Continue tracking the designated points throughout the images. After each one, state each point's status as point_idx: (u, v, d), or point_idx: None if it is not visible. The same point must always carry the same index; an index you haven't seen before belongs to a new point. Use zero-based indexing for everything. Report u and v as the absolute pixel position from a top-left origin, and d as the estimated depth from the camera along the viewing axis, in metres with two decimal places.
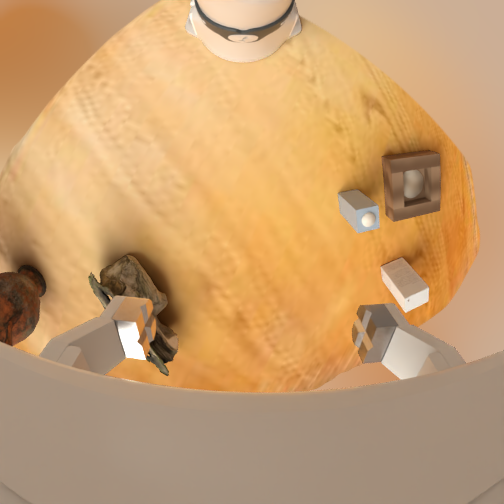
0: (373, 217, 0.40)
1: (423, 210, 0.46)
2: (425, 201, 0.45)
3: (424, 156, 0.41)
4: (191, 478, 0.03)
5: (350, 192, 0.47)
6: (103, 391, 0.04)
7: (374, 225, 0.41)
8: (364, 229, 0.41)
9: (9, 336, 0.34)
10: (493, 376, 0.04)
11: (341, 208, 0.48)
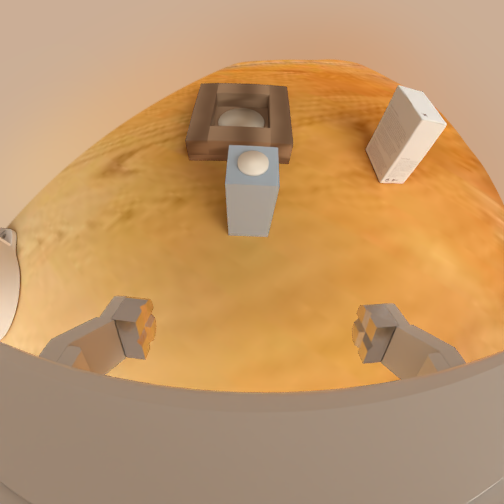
0: (250, 153, 0.21)
1: (282, 104, 0.31)
2: (269, 102, 0.32)
3: (197, 99, 0.31)
4: (190, 478, 0.03)
5: None
6: (103, 391, 0.04)
7: (270, 154, 0.21)
8: (274, 172, 0.20)
9: None
10: (493, 376, 0.04)
11: (254, 231, 0.27)
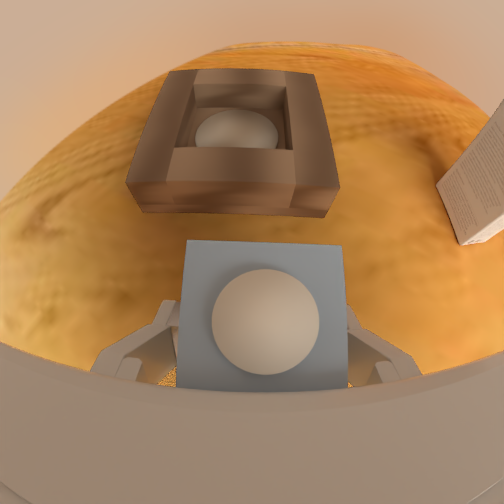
0: (254, 283, 0.06)
1: (310, 104, 0.17)
2: (286, 100, 0.18)
3: (159, 97, 0.17)
4: (191, 477, 0.03)
5: None
6: (103, 391, 0.04)
7: (319, 278, 0.07)
8: (333, 350, 0.06)
9: None
10: (493, 376, 0.04)
11: None
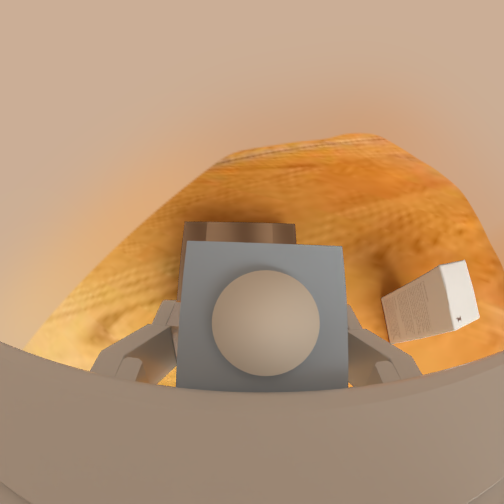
0: (255, 284, 0.06)
1: None
2: None
3: (182, 256, 0.28)
4: (191, 477, 0.03)
5: None
6: (103, 391, 0.04)
7: (320, 279, 0.07)
8: (334, 352, 0.06)
9: None
10: (493, 376, 0.04)
11: None
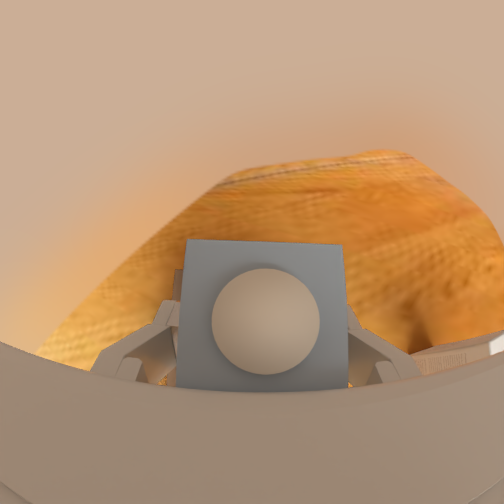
0: (255, 282, 0.06)
1: None
2: None
3: None
4: (191, 478, 0.03)
5: None
6: (103, 391, 0.04)
7: (320, 277, 0.07)
8: (334, 350, 0.06)
9: None
10: (493, 376, 0.04)
11: None
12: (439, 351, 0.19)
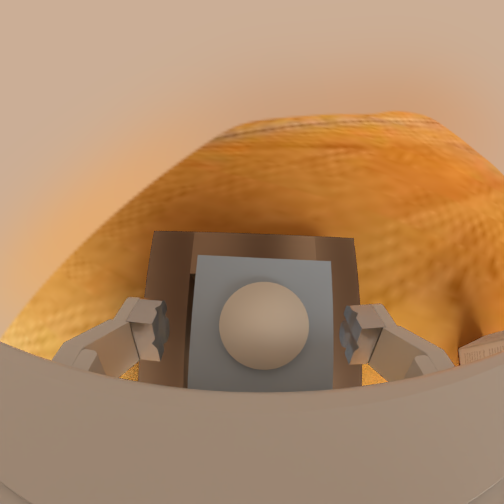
0: (255, 293, 0.07)
1: None
2: None
3: None
4: (191, 477, 0.03)
5: None
6: (103, 391, 0.04)
7: (310, 289, 0.08)
8: (321, 351, 0.07)
9: None
10: (493, 376, 0.04)
11: None
12: None
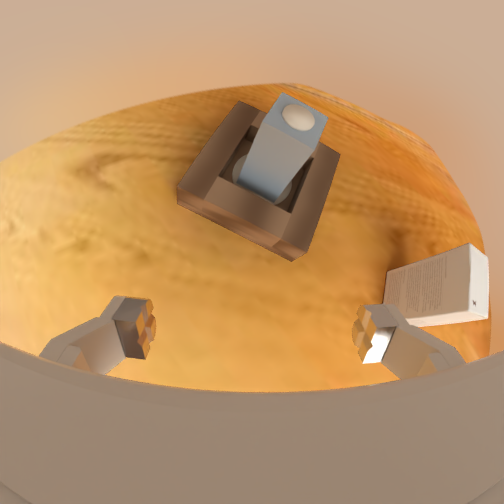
0: (299, 107, 0.18)
1: (322, 181, 0.25)
2: (308, 169, 0.26)
3: (222, 124, 0.24)
4: (191, 478, 0.03)
5: None
6: (103, 391, 0.04)
7: (318, 119, 0.18)
8: (315, 135, 0.18)
9: None
10: (493, 376, 0.04)
11: (264, 190, 0.24)
12: (420, 260, 0.23)
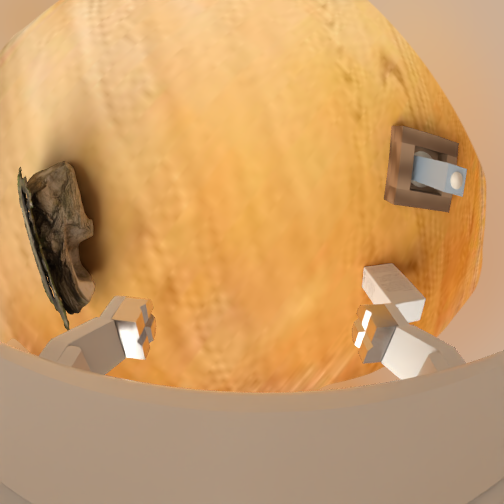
0: (461, 179, 0.28)
1: (431, 203, 0.36)
2: (434, 194, 0.36)
3: (441, 138, 0.32)
4: (191, 478, 0.03)
5: None
6: (103, 391, 0.04)
7: (459, 190, 0.29)
8: (450, 190, 0.29)
9: None
10: (493, 376, 0.04)
11: (416, 172, 0.35)
12: (406, 278, 0.39)
